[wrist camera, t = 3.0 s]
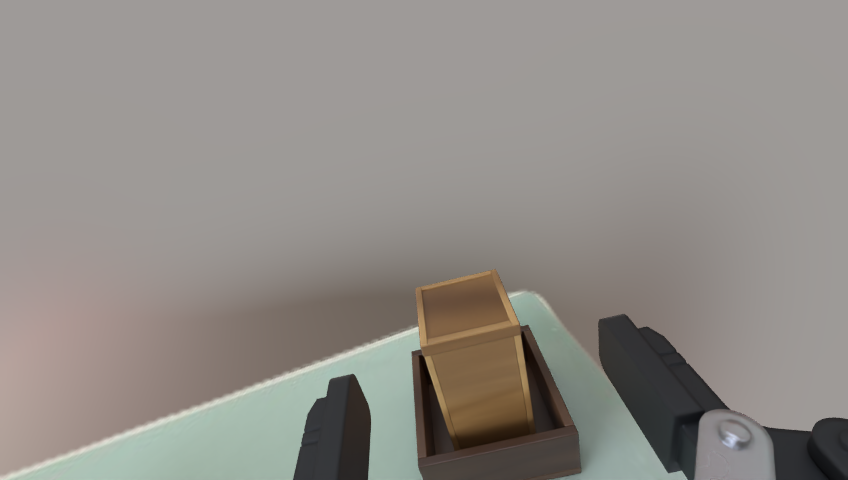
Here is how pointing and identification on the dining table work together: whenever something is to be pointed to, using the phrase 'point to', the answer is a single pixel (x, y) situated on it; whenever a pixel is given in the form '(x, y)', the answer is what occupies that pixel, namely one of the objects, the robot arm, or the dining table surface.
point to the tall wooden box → (475, 359)
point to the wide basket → (504, 460)
